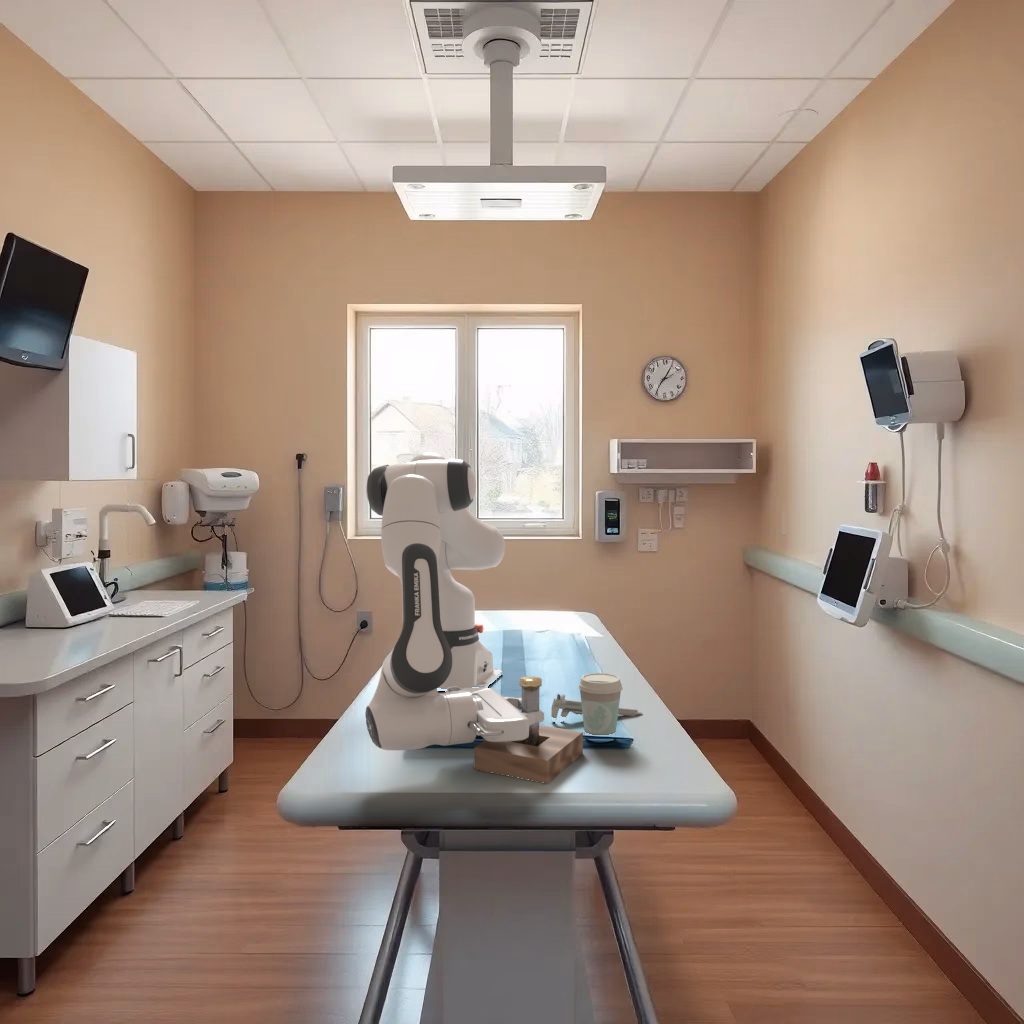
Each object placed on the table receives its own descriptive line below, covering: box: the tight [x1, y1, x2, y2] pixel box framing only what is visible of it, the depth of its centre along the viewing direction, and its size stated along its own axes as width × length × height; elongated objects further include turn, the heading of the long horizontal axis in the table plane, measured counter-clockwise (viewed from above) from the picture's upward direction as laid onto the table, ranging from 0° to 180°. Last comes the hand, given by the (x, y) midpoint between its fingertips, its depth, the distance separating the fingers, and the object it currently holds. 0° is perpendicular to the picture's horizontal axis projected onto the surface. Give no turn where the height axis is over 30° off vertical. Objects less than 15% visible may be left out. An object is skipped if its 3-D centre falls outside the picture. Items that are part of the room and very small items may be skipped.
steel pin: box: [519, 675, 543, 747], centre depth 147 cm, size 4×4×15 cm
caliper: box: [551, 693, 644, 719], centre depth 171 cm, size 20×1×6 cm, turn 107°
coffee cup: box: [577, 672, 623, 735], centre depth 159 cm, size 8×8×12 cm
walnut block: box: [473, 724, 584, 784], centre depth 147 cm, size 16×14×4 cm
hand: (534, 709), depth 147 cm, fingers open, 6 cm apart
